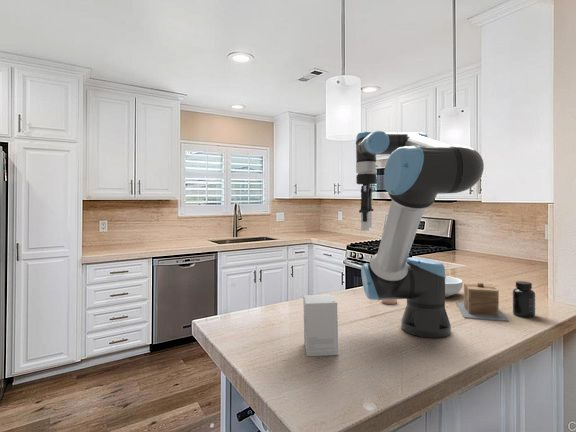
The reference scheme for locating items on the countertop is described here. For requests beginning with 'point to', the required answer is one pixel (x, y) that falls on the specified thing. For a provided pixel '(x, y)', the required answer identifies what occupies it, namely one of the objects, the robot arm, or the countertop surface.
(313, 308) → the supplement box
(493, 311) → the walnut cover
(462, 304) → the slate mat
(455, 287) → the cereal bowl
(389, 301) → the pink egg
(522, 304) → the supplement bottle
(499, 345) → the countertop surface
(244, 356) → the countertop surface
